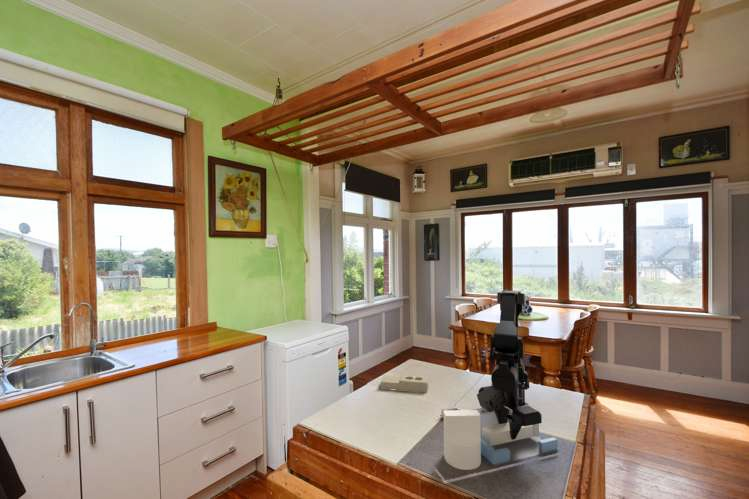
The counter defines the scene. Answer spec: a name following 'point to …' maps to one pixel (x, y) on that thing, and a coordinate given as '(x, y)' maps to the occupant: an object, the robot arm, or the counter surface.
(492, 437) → the long cream plank
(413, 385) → the electrical outlet
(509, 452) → the board
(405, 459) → the counter surface
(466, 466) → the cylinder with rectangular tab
